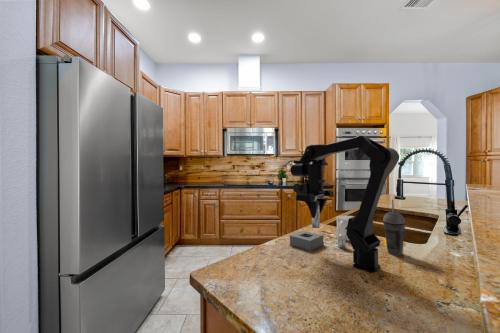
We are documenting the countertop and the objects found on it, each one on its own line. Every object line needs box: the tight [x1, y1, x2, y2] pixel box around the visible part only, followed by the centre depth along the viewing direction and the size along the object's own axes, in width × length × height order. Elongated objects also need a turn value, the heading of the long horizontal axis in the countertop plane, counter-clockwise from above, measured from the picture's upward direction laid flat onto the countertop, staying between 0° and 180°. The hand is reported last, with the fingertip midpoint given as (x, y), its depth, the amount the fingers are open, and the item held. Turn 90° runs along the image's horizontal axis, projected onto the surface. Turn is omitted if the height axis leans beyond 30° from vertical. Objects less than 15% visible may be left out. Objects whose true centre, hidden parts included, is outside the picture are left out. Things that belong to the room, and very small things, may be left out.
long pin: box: [311, 202, 321, 229], centre depth 89 cm, size 3×3×10 cm
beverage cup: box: [382, 198, 406, 257], centre depth 85 cm, size 7×7×20 cm
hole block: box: [289, 230, 324, 252], centre depth 97 cm, size 10×10×4 cm
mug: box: [336, 215, 355, 242], centre depth 104 cm, size 12×9×9 cm
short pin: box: [336, 234, 347, 250], centre depth 93 cm, size 3×3×5 cm
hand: (315, 217), depth 89 cm, fingers closed on long pin, 3 cm apart
